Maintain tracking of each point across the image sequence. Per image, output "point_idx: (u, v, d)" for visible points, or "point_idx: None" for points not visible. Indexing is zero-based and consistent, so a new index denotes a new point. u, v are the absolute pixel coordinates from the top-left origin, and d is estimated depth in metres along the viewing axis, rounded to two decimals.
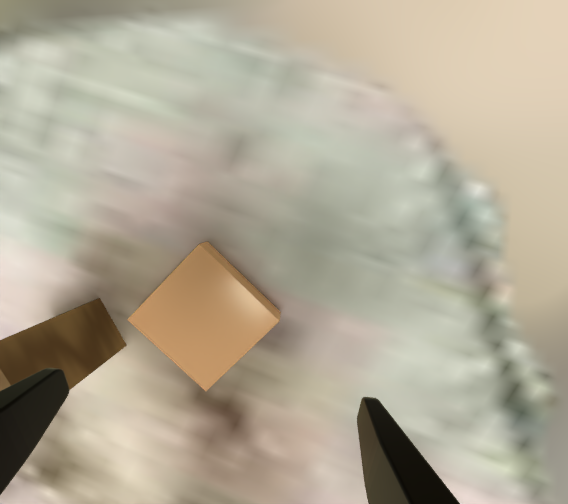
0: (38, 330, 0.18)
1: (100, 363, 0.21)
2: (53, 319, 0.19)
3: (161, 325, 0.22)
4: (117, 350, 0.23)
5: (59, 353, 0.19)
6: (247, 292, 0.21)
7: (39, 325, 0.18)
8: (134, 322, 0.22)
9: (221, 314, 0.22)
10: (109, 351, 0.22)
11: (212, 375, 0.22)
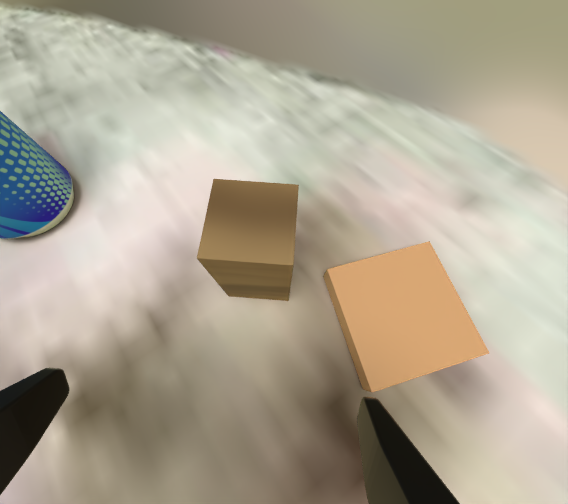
0: None
1: (289, 289, 0.19)
2: None
3: (358, 291, 0.20)
4: None
5: None
6: (462, 305, 0.20)
7: None
8: (332, 274, 0.21)
9: (426, 312, 0.20)
10: None
11: (389, 376, 0.18)
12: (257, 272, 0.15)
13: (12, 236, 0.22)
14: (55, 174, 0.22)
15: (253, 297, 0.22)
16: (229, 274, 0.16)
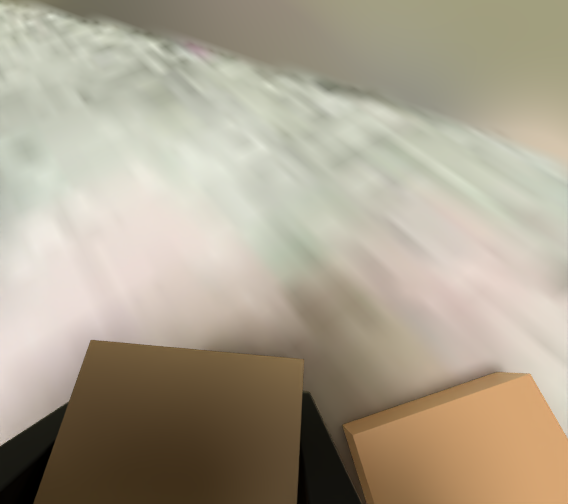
0: None
1: None
2: None
3: (412, 487, 0.11)
4: None
5: None
6: None
7: None
8: (362, 448, 0.11)
9: None
10: None
11: None
12: None
13: None
14: None
15: None
16: None
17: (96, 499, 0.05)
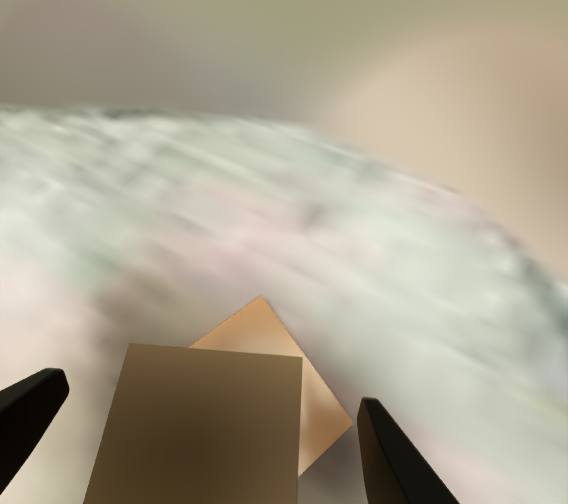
0: None
1: None
2: None
3: None
4: None
5: None
6: (312, 369, 0.16)
7: None
8: None
9: None
10: None
11: None
12: None
13: None
14: None
15: None
16: None
17: (142, 468, 0.06)
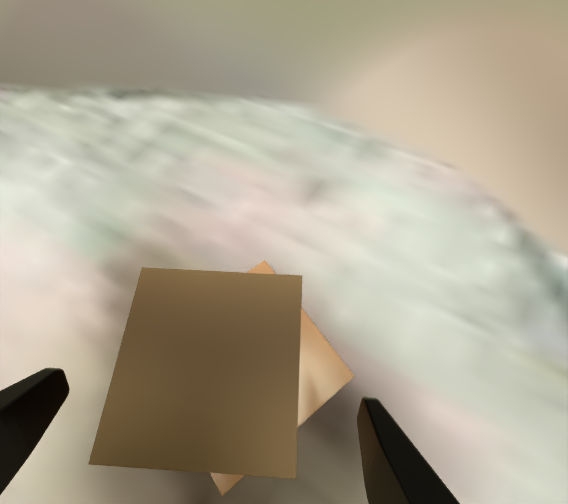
0: None
1: None
2: None
3: None
4: None
5: None
6: (313, 327, 0.16)
7: None
8: None
9: None
10: None
11: None
12: None
13: None
14: None
15: None
16: None
17: (157, 367, 0.07)
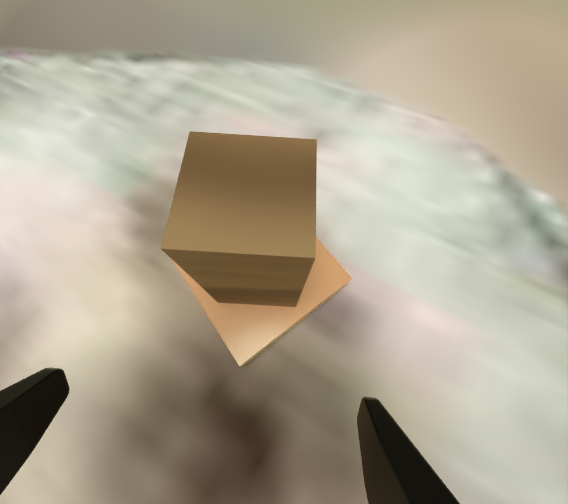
0: None
1: None
2: None
3: None
4: (297, 301, 0.16)
5: None
6: (316, 241, 0.19)
7: None
8: None
9: None
10: None
11: (254, 341, 0.16)
12: (257, 269, 0.10)
13: None
14: None
15: (250, 303, 0.17)
16: (216, 273, 0.11)
17: (208, 192, 0.09)
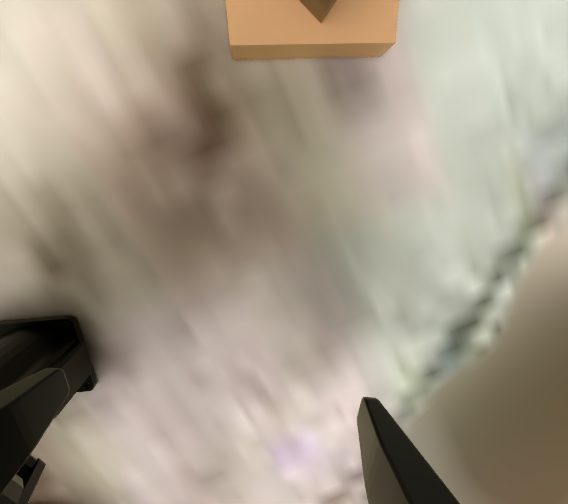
0: None
1: None
2: None
3: None
4: (329, 8, 0.13)
5: None
6: None
7: None
8: None
9: None
10: None
11: (258, 31, 0.14)
12: None
13: None
14: None
15: None
16: None
17: None
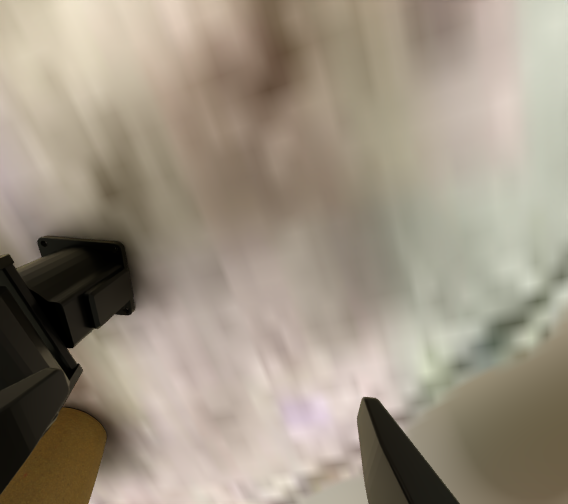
0: None
1: None
2: None
3: None
4: None
5: None
6: None
7: None
8: None
9: None
10: None
11: None
12: None
13: None
14: None
15: None
16: None
17: None
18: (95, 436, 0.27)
